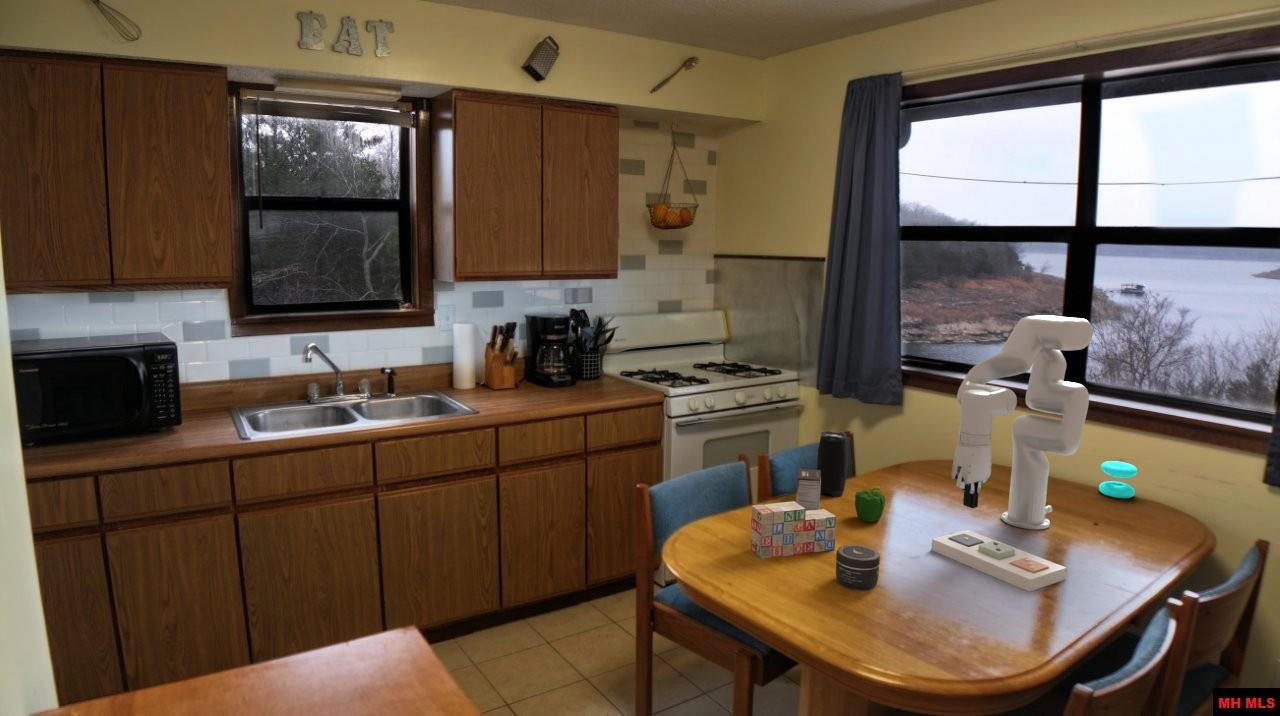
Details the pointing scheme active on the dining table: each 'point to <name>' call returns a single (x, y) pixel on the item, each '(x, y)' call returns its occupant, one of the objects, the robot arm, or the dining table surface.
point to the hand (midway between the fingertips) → (970, 506)
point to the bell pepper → (869, 504)
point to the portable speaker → (832, 462)
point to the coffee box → (808, 489)
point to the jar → (857, 567)
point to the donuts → (1116, 487)
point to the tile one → (966, 540)
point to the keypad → (999, 562)
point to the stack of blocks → (790, 530)
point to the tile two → (996, 550)
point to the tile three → (1029, 565)
